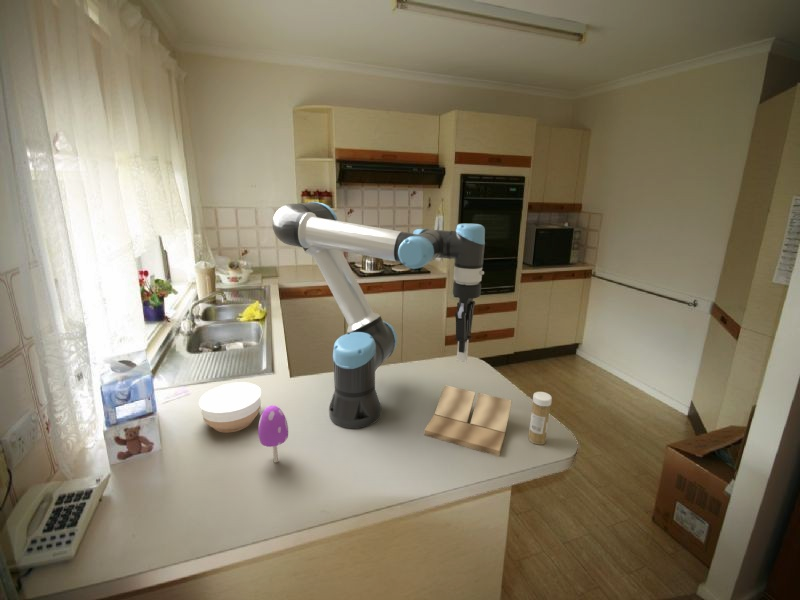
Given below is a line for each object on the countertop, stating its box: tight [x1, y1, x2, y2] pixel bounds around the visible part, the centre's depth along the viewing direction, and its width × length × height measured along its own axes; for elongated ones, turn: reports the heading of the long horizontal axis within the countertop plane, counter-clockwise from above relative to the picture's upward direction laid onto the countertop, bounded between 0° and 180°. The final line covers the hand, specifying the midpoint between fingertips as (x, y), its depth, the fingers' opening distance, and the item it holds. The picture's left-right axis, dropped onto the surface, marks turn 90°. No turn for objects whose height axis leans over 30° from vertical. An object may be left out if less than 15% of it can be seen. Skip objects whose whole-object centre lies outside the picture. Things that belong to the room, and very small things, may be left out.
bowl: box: [198, 381, 262, 434], centre depth 109 cm, size 16×16×8 cm
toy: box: [257, 404, 289, 464], centre depth 92 cm, size 7×7×15 cm
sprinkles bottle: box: [527, 391, 553, 446], centre depth 102 cm, size 5×5×13 cm
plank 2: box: [469, 392, 513, 434], centre depth 110 cm, size 10×10×1 cm
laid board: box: [423, 414, 506, 457], centre depth 105 cm, size 20×10×2 cm, turn 66°
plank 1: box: [434, 384, 476, 424], centre depth 114 cm, size 10×10×1 cm
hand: (461, 360), depth 113 cm, fingers closed
